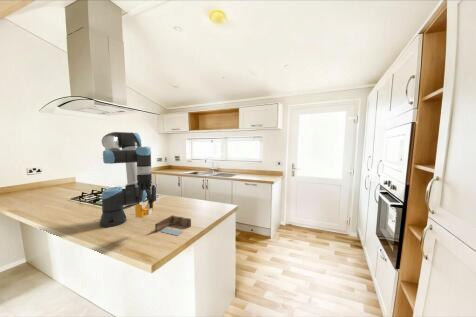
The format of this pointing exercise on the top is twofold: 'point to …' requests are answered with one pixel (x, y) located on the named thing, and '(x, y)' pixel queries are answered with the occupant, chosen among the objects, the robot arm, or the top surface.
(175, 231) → the pad
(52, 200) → the top surface
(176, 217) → the brown wooden corner wall
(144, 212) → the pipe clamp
